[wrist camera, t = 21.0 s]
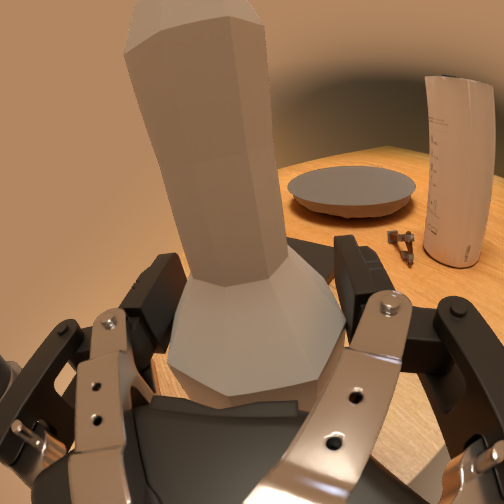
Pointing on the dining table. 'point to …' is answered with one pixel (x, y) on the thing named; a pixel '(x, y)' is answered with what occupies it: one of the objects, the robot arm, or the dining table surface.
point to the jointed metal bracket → (408, 239)
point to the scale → (315, 256)
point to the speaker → (459, 168)
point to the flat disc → (352, 191)
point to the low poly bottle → (229, 209)
